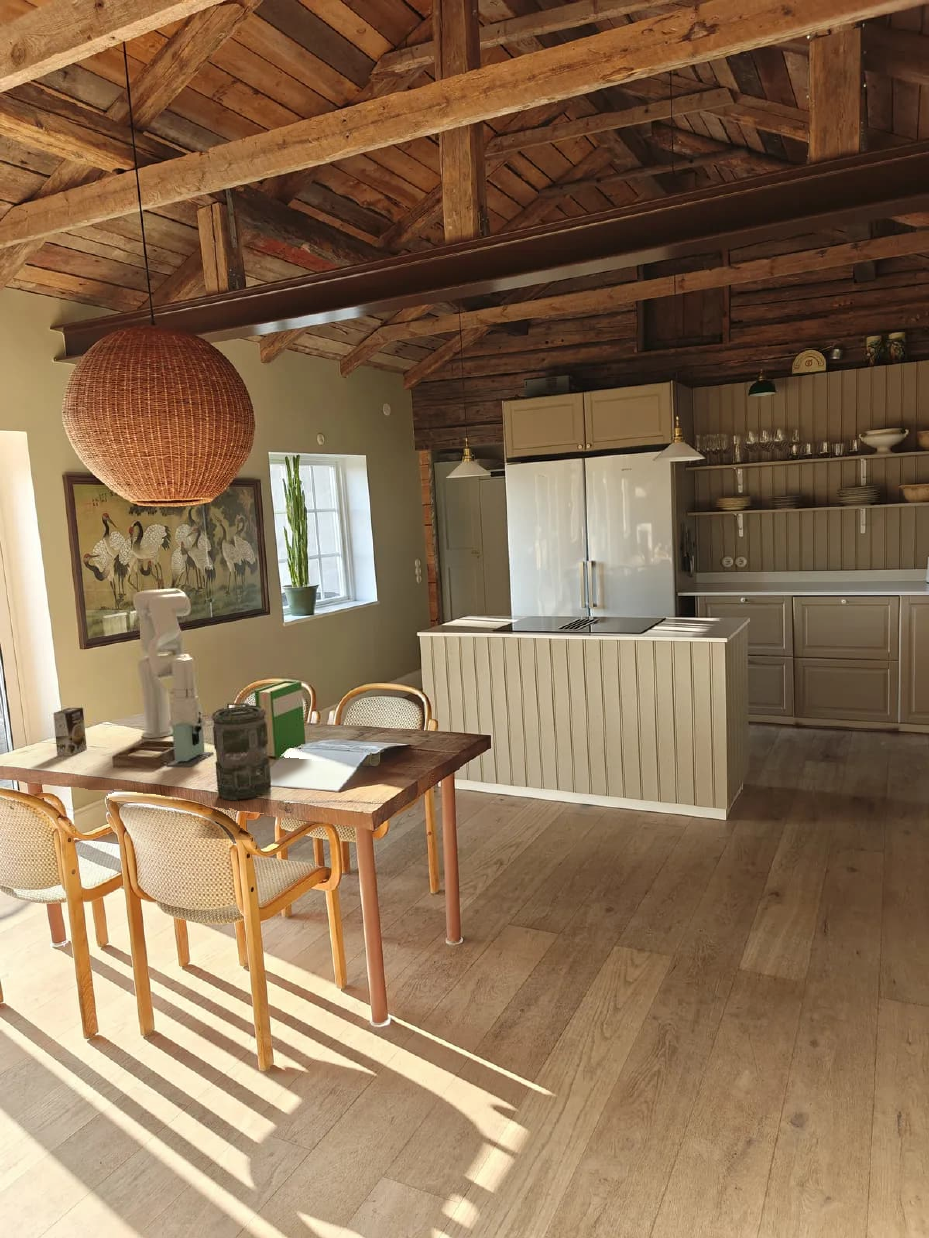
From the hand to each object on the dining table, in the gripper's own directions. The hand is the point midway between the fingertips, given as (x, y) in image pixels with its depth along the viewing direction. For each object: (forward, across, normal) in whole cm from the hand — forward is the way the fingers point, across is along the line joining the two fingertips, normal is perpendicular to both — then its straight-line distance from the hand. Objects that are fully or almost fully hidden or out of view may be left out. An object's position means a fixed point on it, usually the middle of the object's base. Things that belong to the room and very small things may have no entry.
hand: (189, 743), depth 303 cm
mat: (+6, 0, 0) cm, 6 cm away
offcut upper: (+5, -15, -4) cm, 16 cm away
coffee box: (+6, -52, +6) cm, 53 cm away
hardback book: (+6, +29, +13) cm, 32 cm away
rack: (+6, -15, -1) cm, 16 cm away
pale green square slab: (+4, 0, 0) cm, 4 cm away
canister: (+6, +37, -32) cm, 49 cm away
